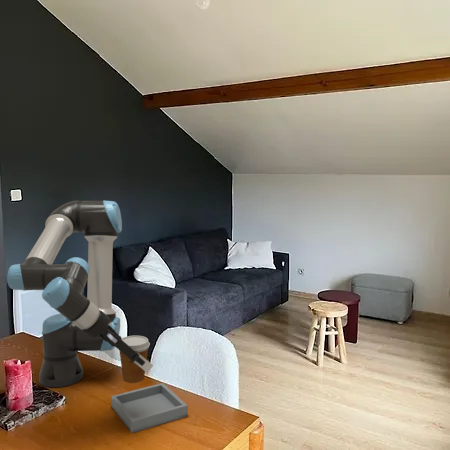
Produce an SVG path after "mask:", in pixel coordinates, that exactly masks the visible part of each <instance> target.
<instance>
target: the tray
mask: <svg viewBox="0 0 450 450" xmlns="http://www.w3.org/2000/svg"><path fill="white" fill-rule="evenodd" d="M110 404H111V405H110V407H111V408H112V409H113V411H114V413H116V415H117V416H118V417H119V419H120V420H121V422H123V424H124V425H125V427H126V428H127V429H128V430H129V431H130V433H131V434H134V433H137V432H141V431H145V430H146V429H147V430H148V429H150V428H154V427H157V426H160V425H163V424H166V423H170V422H174V421H177V420H179V419H182V418H186V417H188V415H189V414H188V413H189V412H188V410H189V408H188V407H189V405H188V404H187V403H185V402H184V400H183V399H181V398H180V397H179V396H178V395H177V394H176V393H175V392H173V391H172V389H170V388H169V387H168V386H166V385H165V383H163V382H162V383H161V382H160V383H158V384H154V385H149V386H145V387H142V388H138V389H134V390H129V391H125V392H123V393H119V394H115V395H111V396H110Z"/></svg>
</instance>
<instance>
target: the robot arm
mask: <svg viewBox="0 0 450 450" xmlns="http://www.w3.org/2000/svg"><path fill="white" fill-rule="evenodd" d="M122 220H123V219H122V213H121V209H120V207H119V204H118V203H117V202H116V201H114V200H113V201H112V200H72V201H69V202H66V203H64V204H62V205H61V206H59V207H58V208H56V209H54V210H53V211H52V212H51V213H50V214H49V216H48V217H47V218H46V220H45V224H44V226H45V227H44V229H43V231H42V232H41V234H40V235H39V238H38V239H37V241H35V242H36V243H35V244H34V246H33V247H32V248H31V250H30V252H29V254H28V255H27V257H26V258H25V260H24V262H23V263H16V264H12V265H10V267H9V268H8V271H7V285H8V287H9V288H10V289H12V291H13V290H15V291H23V292H25V291H42V292H41V293H42V294H41V298H42V299H43V300H44V301H45V302H46V303H47V304H48V305H49V306H50V307H51V308H53V309H54V310H56V312H59V313H57V314H53V315H51V316H49V317H47V318H46V319H45V320H43V322H42V330H41V334H42V352H43V353H42V355H43V360H42V364H41V367H40V371H39V374H38V383H39V384H40V385H41V386H44V387H46V388H47V387H48V388H63V387H68V386H70V385H74V384H76V383H78V382H80V381H81V380H82V379H83V378H84V369H83V367H82V363H81V360H80V358H79V356H78V352H94V351H95V352H103V351H112V350H114V349H115V348H116V349H117V350H118V351H119V350H120V351H121V352H122V353H123V354H125V355H126V356H127V357H128V358H129V359H131V361H130V363H132V362H134V363H135V364H137V365H138V366H139V367H140V368H142V369H143V370H144V371H145V373H146V374H148V373H149V372H150V371H151V369H152V368H153V367H154V365H153V364H152V363H151V362H150V361H149V360H146V359H145V358H144V357H142V356H141V355H140V354H139V353H137V352H135V351H134V350H133V349H132V348H131V347H130V346H128V345H127V344H126V343H125V342H124V341H123V340H122V338H123V337H122V336H121V335H120V331H121V318H120V317H118V316H116V315H117V313H116V310H114V309H113V307H112V306H113V305H112V303H113V300H112V298H113V297H112V296H113V295H112V294H113V253H114V252H113V249H114V247H113V245H114V241H115V240H116V239H118V234H120V233H121V232H122V230H123V227H122V226H123V221H122ZM74 233H84V236H83V237H84V238H85V239H86V240H87V242H88V249H87V250H88V251H87V252H88V253H87V254H88V256H87V258H88V260H87V261H86V260H85V259H83V258H81V257H75V256H74V257H71V258H68V259H67V261H66V262H65V263H63V264H62V263H61V264H59V263H57V264H53V263H54V262H55V259H56V257H57V255H58V254H59V253H60V250H61V248H62V246H63V244H64V242H65V241H66V239H67V238H68V237H70V236H71V235H72V234H74ZM86 284H87V295H86V296H85V295H83V292H84V289H85V287H86ZM120 351H119V352H120Z"/></svg>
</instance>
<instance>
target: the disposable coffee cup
mask: <svg viewBox="0 0 450 450" xmlns="http://www.w3.org/2000/svg"><path fill="white" fill-rule="evenodd" d="M122 340H123V341H124V342H125V343H126V344H127V345H128V346H130V347H131V348H132V349H133V350H134V351H135V352H137V353H139V354H140V355H141V356H142V357H144V358H145V359H146V360H147V359H148V351H149V348H150V345H151V343H150V342H149V341H150V340H149V339H148V338H147V337H146V336H143V335H129V336H124V337H122ZM118 351H119V356H120V365H121V371H122V373H121V374H122V380H123V381H124V382H125V383H128V384H137V383H140V382H142V381H144V379H145V375H146V374H145V373H146V372H145V371H144V370H143V369H142V368H140V367H139V366H138V365H137V364H135V363H134V362H132V363H130V361H131V359H129V358H128V357H127V356H126V355H125V354H123V353H122V352H121V351H120V350H119V349H118ZM147 361H148V360H147Z"/></svg>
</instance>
